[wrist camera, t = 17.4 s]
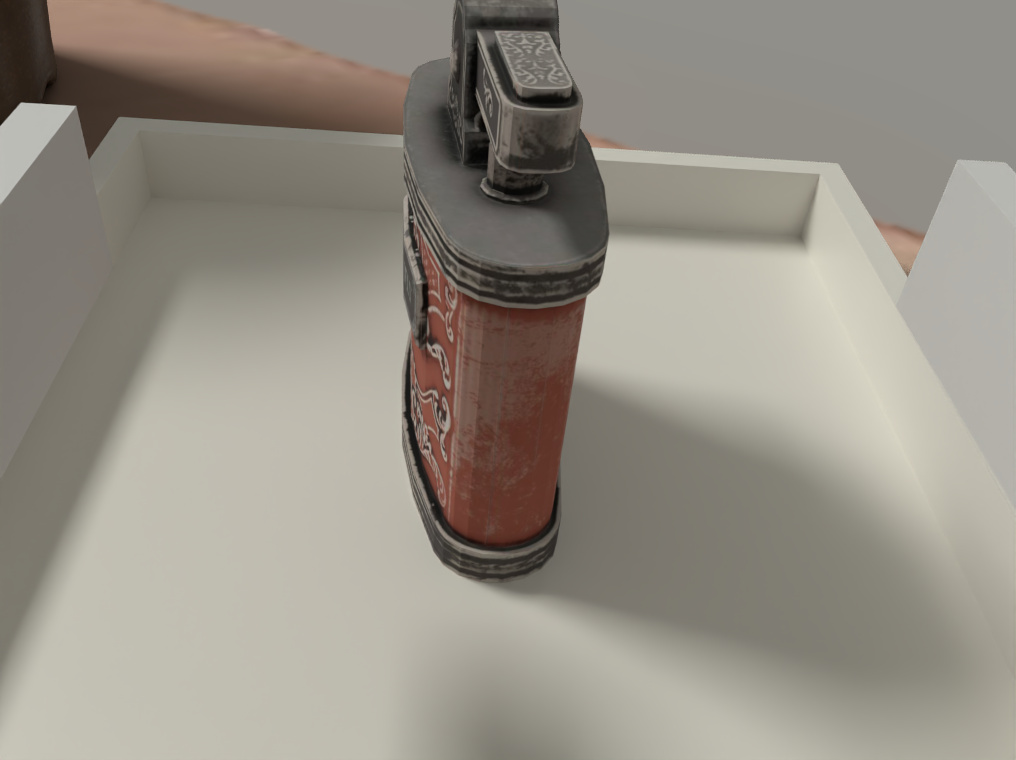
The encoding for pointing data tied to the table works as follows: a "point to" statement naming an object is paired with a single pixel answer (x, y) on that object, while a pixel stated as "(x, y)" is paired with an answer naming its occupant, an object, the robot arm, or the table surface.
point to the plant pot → (24, 54)
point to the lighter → (495, 284)
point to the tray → (584, 488)
